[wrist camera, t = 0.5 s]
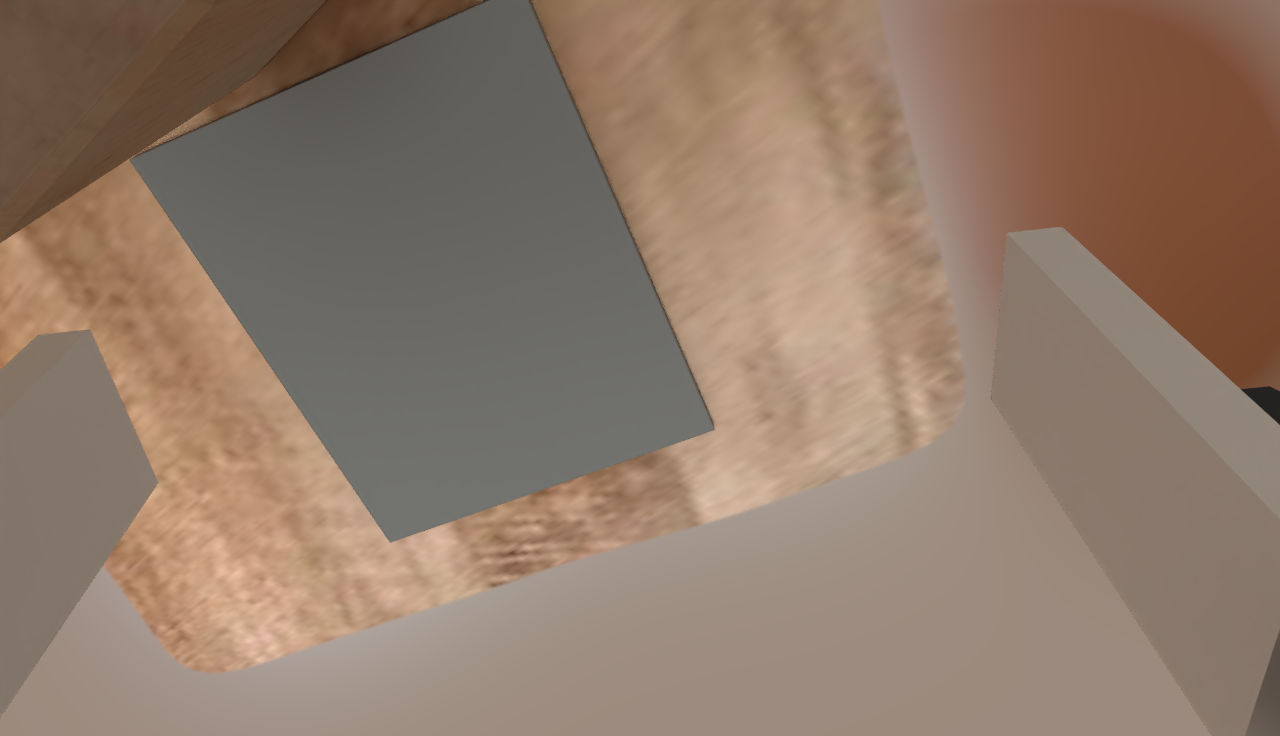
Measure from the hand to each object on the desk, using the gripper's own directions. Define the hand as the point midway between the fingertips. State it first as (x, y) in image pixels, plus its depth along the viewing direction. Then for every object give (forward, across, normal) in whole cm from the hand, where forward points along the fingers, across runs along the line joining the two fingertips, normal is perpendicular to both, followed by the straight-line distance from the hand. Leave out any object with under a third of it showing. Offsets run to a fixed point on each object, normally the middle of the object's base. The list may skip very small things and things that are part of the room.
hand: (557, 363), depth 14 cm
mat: (+28, -8, -12) cm, 31 cm away
